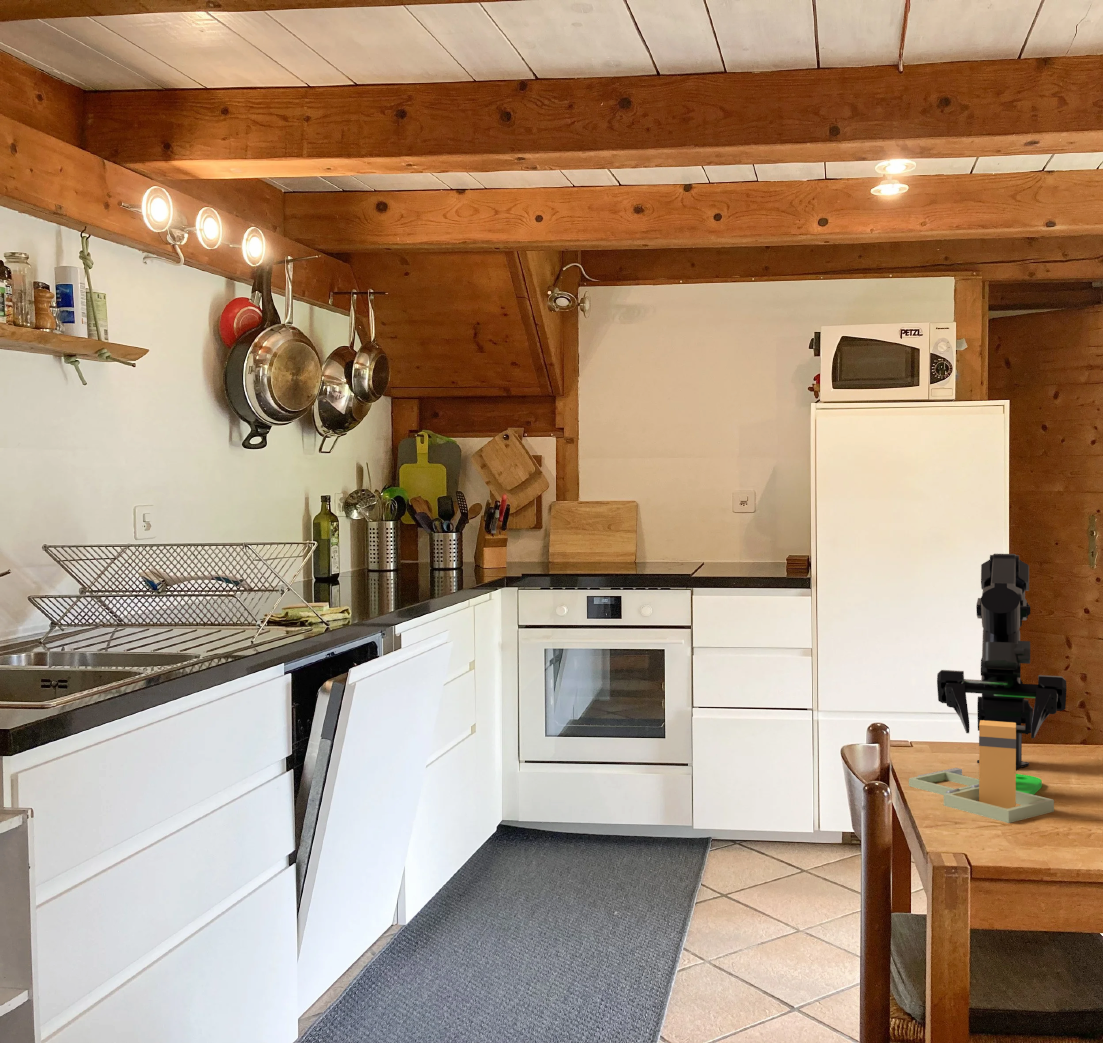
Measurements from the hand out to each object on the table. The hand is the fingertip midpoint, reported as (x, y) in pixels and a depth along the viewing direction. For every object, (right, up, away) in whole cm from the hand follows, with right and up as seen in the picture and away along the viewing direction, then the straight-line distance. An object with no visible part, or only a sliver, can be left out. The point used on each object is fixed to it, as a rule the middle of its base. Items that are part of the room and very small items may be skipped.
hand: (999, 734), depth 165 cm
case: (-2, -11, -3) cm, 12 cm away
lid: (-4, -11, +9) cm, 15 cm away
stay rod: (-3, -11, +17) cm, 21 cm away
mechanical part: (+6, -12, +8) cm, 15 cm away
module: (-2, -11, -4) cm, 11 cm away
